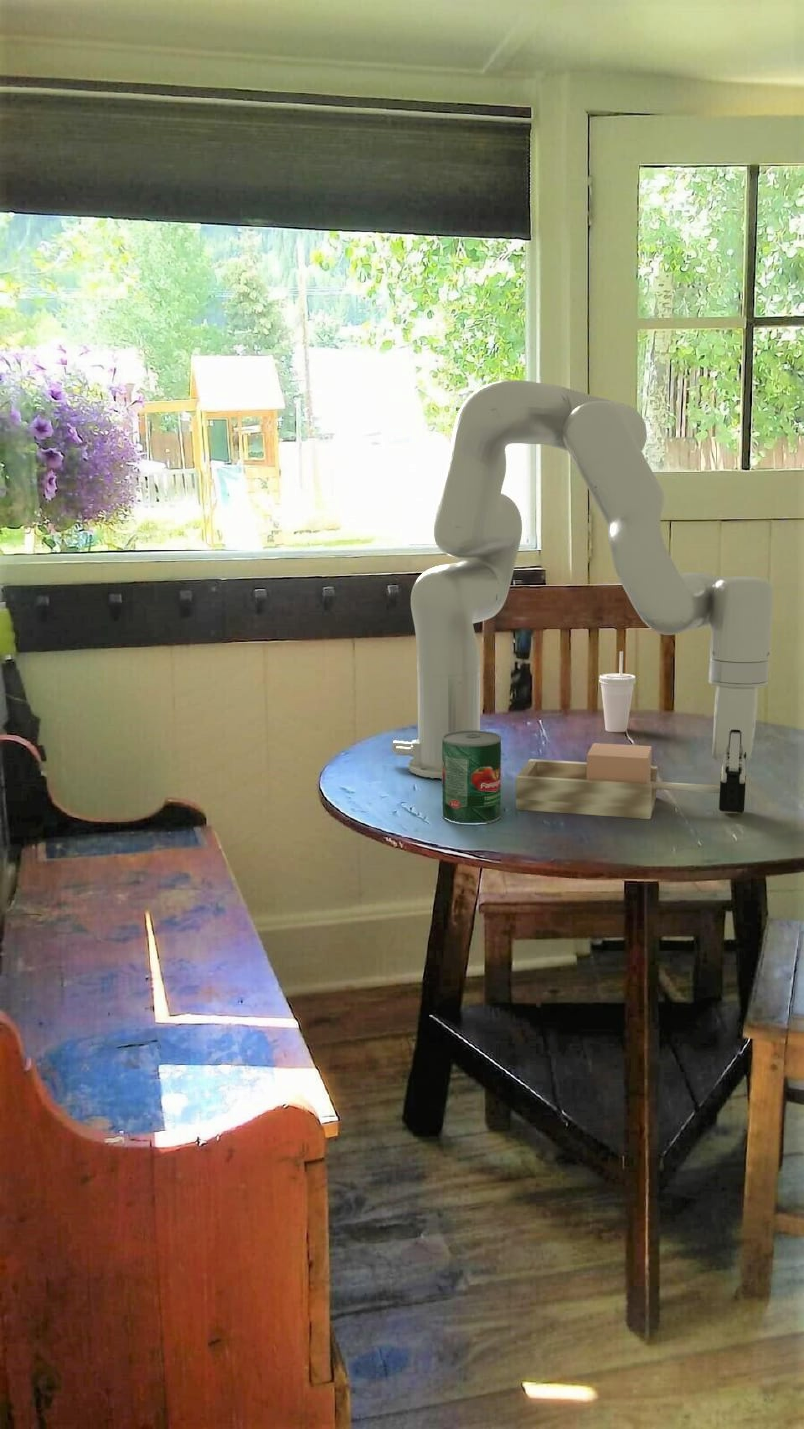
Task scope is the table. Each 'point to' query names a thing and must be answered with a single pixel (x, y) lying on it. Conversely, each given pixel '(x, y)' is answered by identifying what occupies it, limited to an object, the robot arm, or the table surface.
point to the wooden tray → (580, 791)
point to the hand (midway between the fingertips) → (731, 806)
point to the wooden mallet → (633, 767)
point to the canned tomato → (471, 776)
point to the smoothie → (617, 698)
